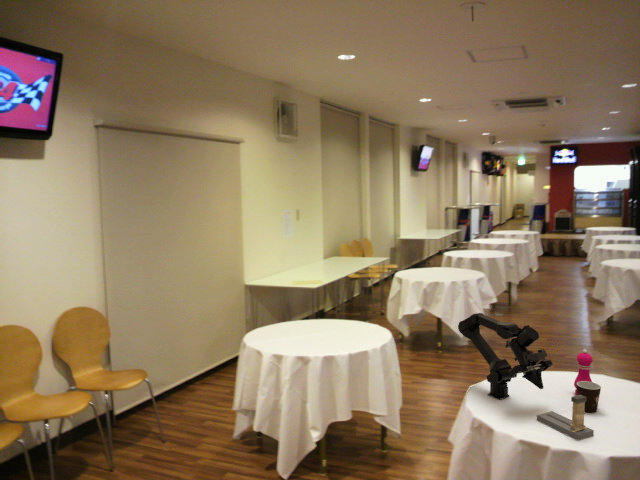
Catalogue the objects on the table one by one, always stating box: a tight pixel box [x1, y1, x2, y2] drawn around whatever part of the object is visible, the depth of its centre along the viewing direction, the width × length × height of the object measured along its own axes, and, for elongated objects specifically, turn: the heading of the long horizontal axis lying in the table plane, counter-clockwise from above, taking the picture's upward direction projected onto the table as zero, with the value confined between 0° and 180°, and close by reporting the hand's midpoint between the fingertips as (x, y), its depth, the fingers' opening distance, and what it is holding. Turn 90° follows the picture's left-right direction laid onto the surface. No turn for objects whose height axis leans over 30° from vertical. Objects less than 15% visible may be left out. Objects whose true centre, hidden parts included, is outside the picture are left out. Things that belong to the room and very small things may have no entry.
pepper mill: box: [573, 349, 594, 396], centre depth 222 cm, size 7×7×20 cm
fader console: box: [536, 410, 595, 441], centre depth 193 cm, size 18×8×2 cm, turn 25°
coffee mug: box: [577, 381, 602, 414], centre depth 209 cm, size 12×9×10 cm
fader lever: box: [570, 395, 587, 431], centre depth 188 cm, size 3×5×12 cm, turn 115°
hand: (542, 388), depth 202 cm, fingers closed
